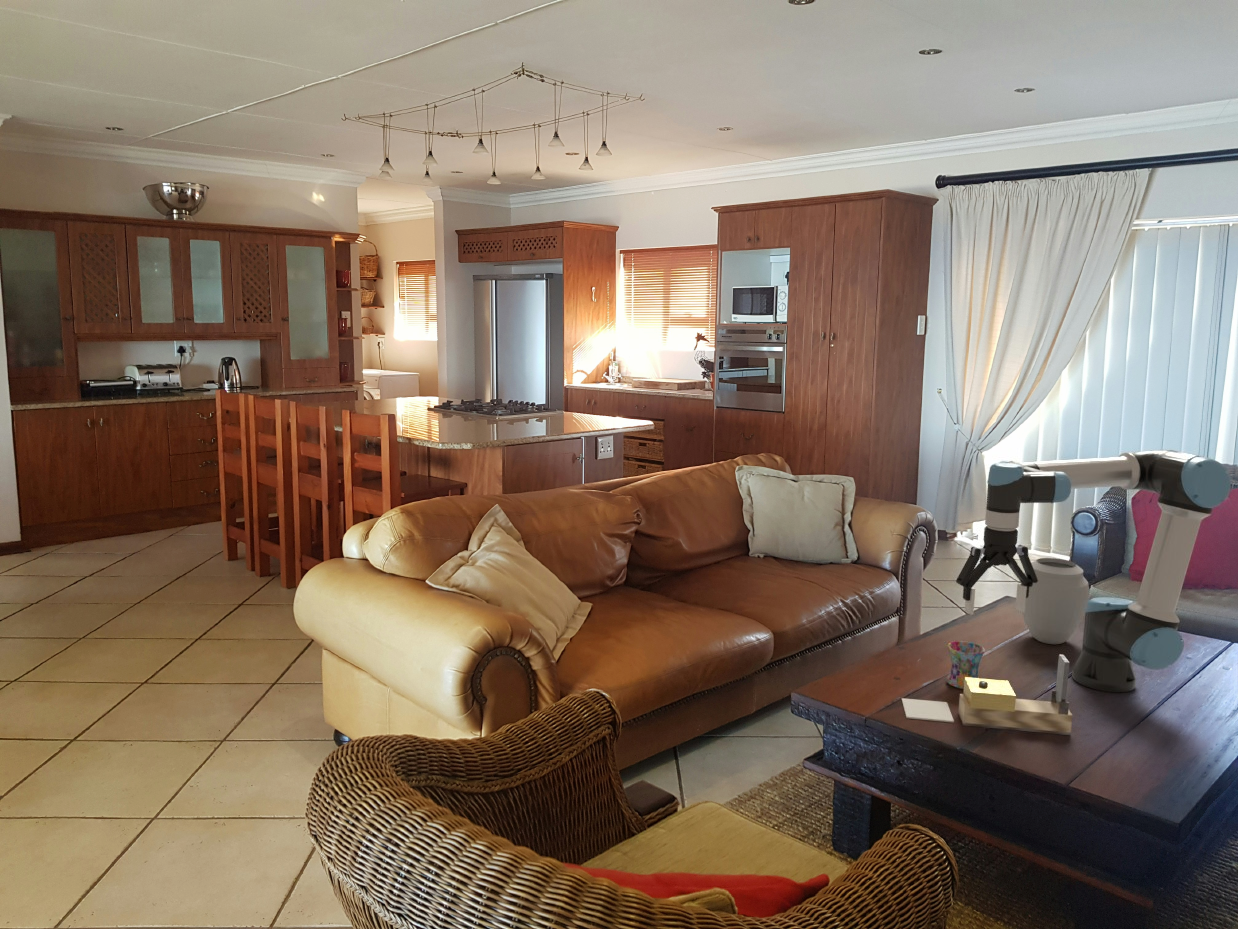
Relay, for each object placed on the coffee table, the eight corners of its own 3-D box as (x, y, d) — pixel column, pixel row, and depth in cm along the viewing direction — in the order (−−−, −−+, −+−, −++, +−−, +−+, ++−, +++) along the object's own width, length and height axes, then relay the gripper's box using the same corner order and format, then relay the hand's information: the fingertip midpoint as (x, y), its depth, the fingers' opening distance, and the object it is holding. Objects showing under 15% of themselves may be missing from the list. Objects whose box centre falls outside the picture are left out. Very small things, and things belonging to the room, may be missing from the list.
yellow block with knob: (1006, 696, 224) (1007, 677, 224) (1014, 711, 216) (1016, 692, 215) (963, 692, 226) (964, 674, 225) (970, 707, 217) (971, 688, 217)
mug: (971, 695, 237) (974, 656, 235) (938, 684, 244) (941, 646, 242) (992, 683, 245) (996, 645, 243) (959, 673, 252) (962, 636, 250)
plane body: (1062, 722, 222) (1065, 691, 220) (1070, 735, 215) (1073, 703, 214) (958, 712, 226) (960, 682, 225) (963, 725, 219) (965, 693, 218)
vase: (1081, 656, 265) (1089, 575, 261) (1009, 643, 275) (1016, 565, 271) (1087, 637, 281) (1095, 560, 277) (1019, 625, 291) (1026, 551, 287)
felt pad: (946, 703, 231) (946, 702, 231) (953, 722, 221) (953, 721, 221) (901, 699, 234) (901, 698, 233) (906, 718, 223) (906, 716, 223)
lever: (1059, 700, 220) (1063, 654, 218) (1065, 709, 215) (1070, 662, 213) (1053, 699, 221) (1058, 654, 219) (1060, 709, 215) (1064, 662, 213)
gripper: (1039, 522, 226) (1031, 604, 230) (945, 525, 222) (939, 609, 226) (1058, 529, 219) (1050, 614, 222) (961, 532, 215) (955, 619, 218)
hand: (994, 611), depth 224 cm, fingers open, 13 cm apart
